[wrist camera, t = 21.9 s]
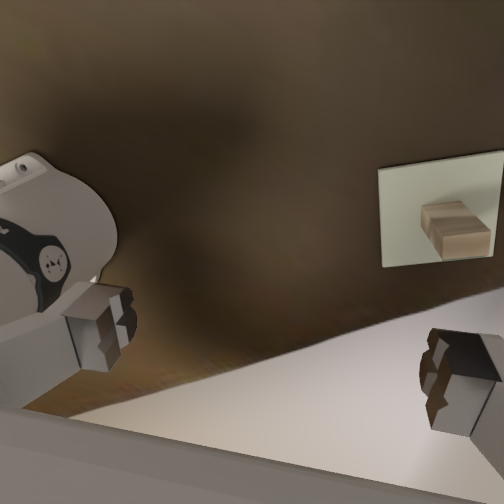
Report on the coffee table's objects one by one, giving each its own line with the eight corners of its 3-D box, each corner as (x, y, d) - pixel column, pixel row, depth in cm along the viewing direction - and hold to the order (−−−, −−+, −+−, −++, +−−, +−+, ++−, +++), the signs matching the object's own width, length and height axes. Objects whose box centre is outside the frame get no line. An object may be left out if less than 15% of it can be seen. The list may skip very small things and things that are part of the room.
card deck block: (459, 223, 41) (488, 257, 35) (420, 228, 42) (442, 261, 35) (460, 200, 40) (491, 231, 33) (420, 205, 41) (443, 236, 34)
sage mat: (382, 264, 45) (383, 267, 45) (377, 169, 40) (378, 170, 39) (490, 253, 43) (492, 256, 42) (502, 150, 37) (504, 151, 37)
